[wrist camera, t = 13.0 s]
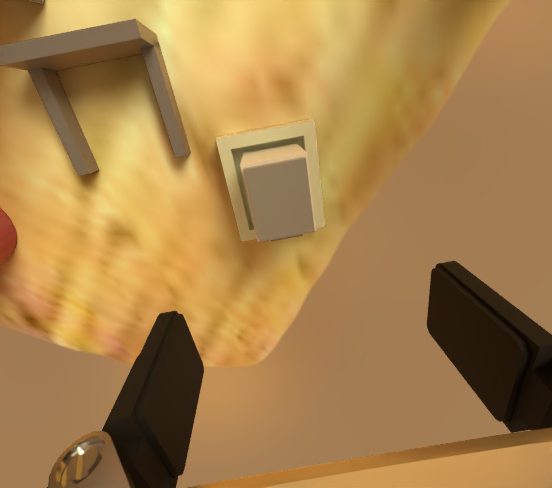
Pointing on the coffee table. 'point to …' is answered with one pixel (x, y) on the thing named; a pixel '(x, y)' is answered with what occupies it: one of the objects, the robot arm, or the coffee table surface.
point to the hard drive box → (38, 1)
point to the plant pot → (6, 236)
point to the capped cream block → (279, 191)
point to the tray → (260, 138)
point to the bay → (86, 50)
